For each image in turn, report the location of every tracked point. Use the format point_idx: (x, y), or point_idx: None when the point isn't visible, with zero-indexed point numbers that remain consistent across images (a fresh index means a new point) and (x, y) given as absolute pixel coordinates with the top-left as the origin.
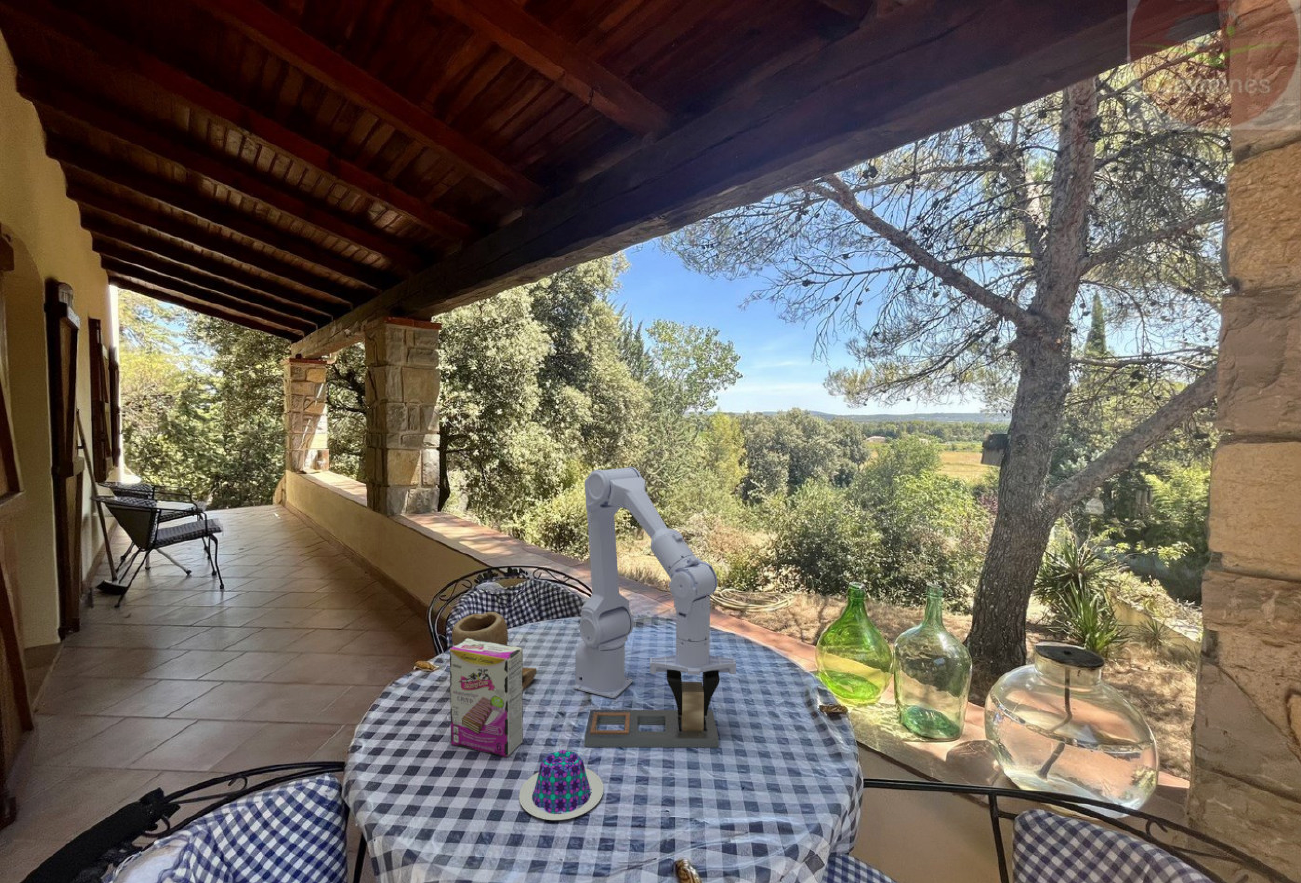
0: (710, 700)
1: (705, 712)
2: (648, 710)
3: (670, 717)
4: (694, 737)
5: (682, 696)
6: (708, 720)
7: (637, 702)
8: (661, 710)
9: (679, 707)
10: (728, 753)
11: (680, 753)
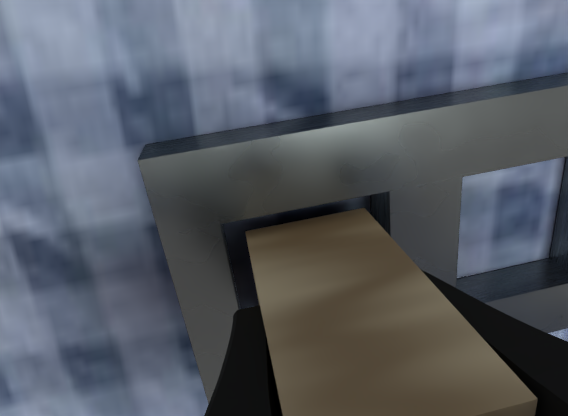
0: (209, 403)
1: (246, 321)
2: None
3: None
4: (296, 145)
5: (501, 359)
6: (225, 328)
7: None
8: None
9: (454, 296)
10: (72, 95)
11: (360, 48)
